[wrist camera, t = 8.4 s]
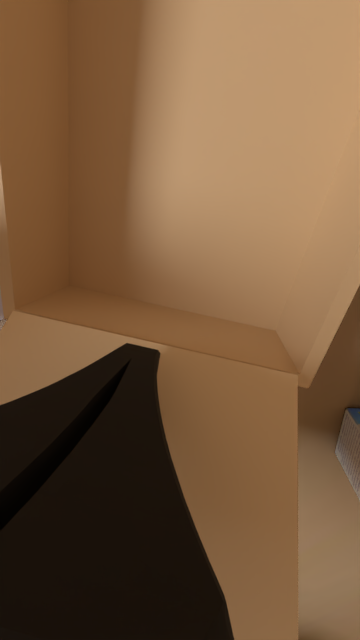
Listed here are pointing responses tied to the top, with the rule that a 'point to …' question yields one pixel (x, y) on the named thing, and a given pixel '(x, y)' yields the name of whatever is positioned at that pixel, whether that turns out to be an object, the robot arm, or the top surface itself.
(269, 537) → the flap
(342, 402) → the top surface
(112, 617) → the robot arm
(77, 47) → the carton
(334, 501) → the top surface
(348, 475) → the medicine box
